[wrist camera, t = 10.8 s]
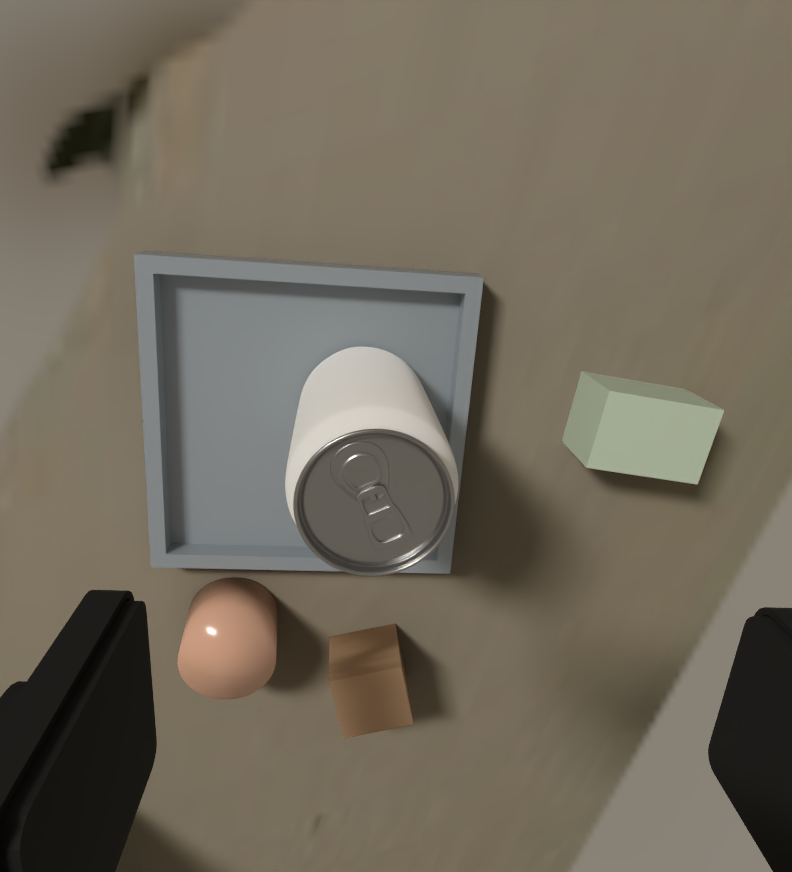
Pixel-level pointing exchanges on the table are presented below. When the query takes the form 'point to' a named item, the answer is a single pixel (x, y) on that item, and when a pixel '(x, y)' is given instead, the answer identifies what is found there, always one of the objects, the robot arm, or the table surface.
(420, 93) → the table surface
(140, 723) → the robot arm
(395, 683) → the walnut block
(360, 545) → the can
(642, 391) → the sage block
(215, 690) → the brown egg
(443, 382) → the tray
